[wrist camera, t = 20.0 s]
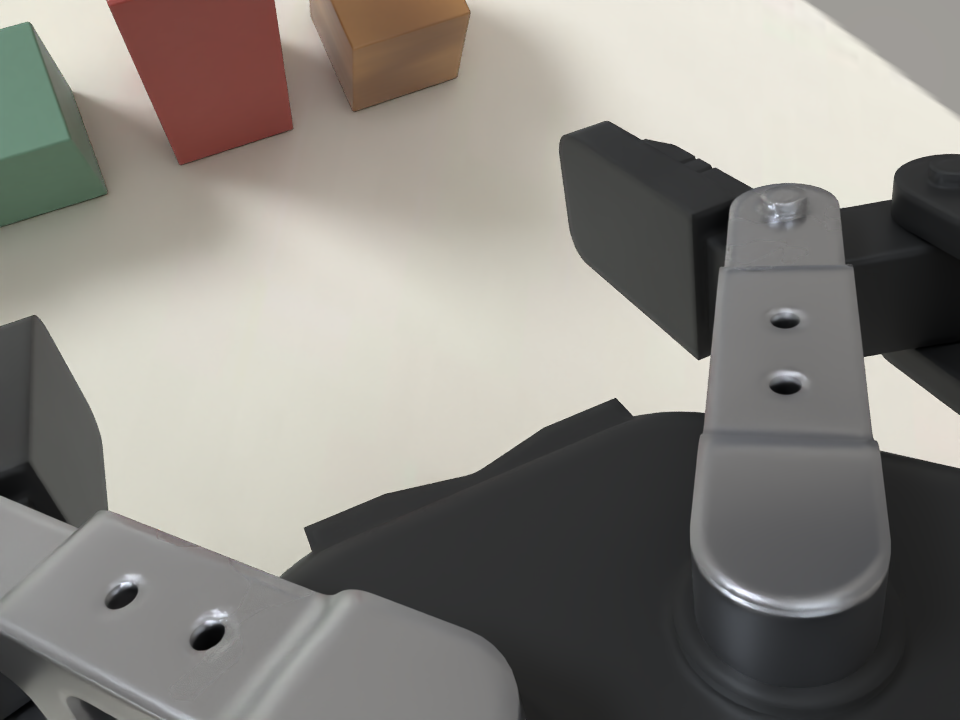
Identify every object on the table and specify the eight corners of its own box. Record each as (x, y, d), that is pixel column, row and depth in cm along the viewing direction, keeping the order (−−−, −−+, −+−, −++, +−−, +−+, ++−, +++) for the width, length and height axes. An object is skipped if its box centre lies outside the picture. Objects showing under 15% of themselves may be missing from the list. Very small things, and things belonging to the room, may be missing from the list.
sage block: (-16, 233, 29) (-74, 182, 25) (-53, 121, 30) (-115, 54, 26) (109, 194, 30) (72, 139, 26) (70, 86, 31) (28, 16, 27)
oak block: (352, 113, 32) (352, 50, 28) (308, 13, 32) (302, -62, 28) (457, 78, 32) (471, 12, 29) (412, -19, 33) (420, -96, 29)
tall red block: (179, 166, 30) (108, 6, 22) (139, 61, 31) (53, -136, 22) (293, 129, 31) (269, -39, 23) (251, 27, 32) (211, -175, 23)
